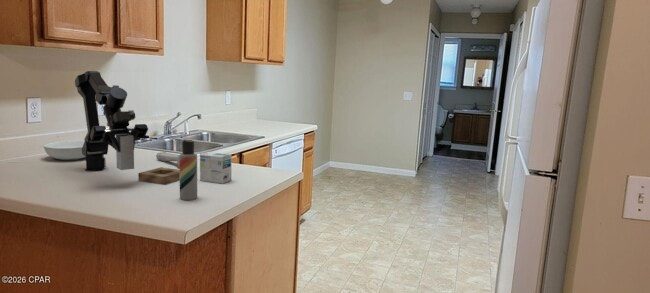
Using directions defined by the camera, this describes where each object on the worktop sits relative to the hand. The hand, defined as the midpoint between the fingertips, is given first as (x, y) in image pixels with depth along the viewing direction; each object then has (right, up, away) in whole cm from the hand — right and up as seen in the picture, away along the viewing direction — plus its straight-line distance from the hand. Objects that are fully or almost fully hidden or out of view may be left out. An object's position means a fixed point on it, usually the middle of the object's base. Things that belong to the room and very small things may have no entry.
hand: (126, 150), depth 156 cm
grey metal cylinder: (+1, -7, +45) cm, 45 cm away
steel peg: (-1, -6, +2) cm, 7 cm away
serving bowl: (-47, -4, +47) cm, 67 cm away
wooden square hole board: (+7, -11, +16) cm, 21 cm away
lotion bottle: (+25, -16, -8) cm, 30 cm away
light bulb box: (+27, -12, +18) cm, 35 cm away
